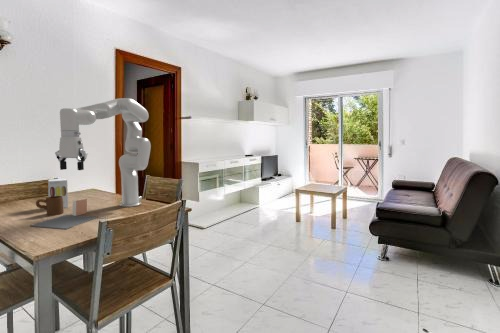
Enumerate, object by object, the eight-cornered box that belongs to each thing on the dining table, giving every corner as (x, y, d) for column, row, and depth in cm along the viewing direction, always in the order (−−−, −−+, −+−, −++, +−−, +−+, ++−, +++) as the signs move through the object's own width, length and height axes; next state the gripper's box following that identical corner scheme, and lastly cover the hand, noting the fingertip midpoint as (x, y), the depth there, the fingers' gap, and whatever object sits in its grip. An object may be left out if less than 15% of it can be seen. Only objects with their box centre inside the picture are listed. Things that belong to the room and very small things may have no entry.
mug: (37, 218, 146) (35, 200, 146) (36, 215, 152) (35, 197, 151) (64, 214, 154) (63, 197, 153) (62, 211, 160) (61, 195, 159)
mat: (66, 215, 152) (66, 214, 152) (98, 217, 148) (98, 216, 148) (30, 226, 133) (30, 225, 133) (66, 229, 129) (66, 228, 129)
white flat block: (83, 212, 157) (83, 198, 157) (86, 213, 157) (86, 198, 157) (72, 215, 151) (72, 200, 150) (76, 215, 150) (76, 200, 150)
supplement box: (49, 210, 163) (47, 181, 162) (48, 207, 171) (47, 179, 169) (68, 207, 169) (67, 179, 167) (67, 204, 176) (66, 178, 175)
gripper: (91, 134, 139) (93, 169, 141) (61, 134, 142) (63, 168, 144) (79, 134, 132) (81, 171, 134) (48, 134, 135) (50, 170, 137)
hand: (72, 169), depth 139 cm, fingers open, 9 cm apart
